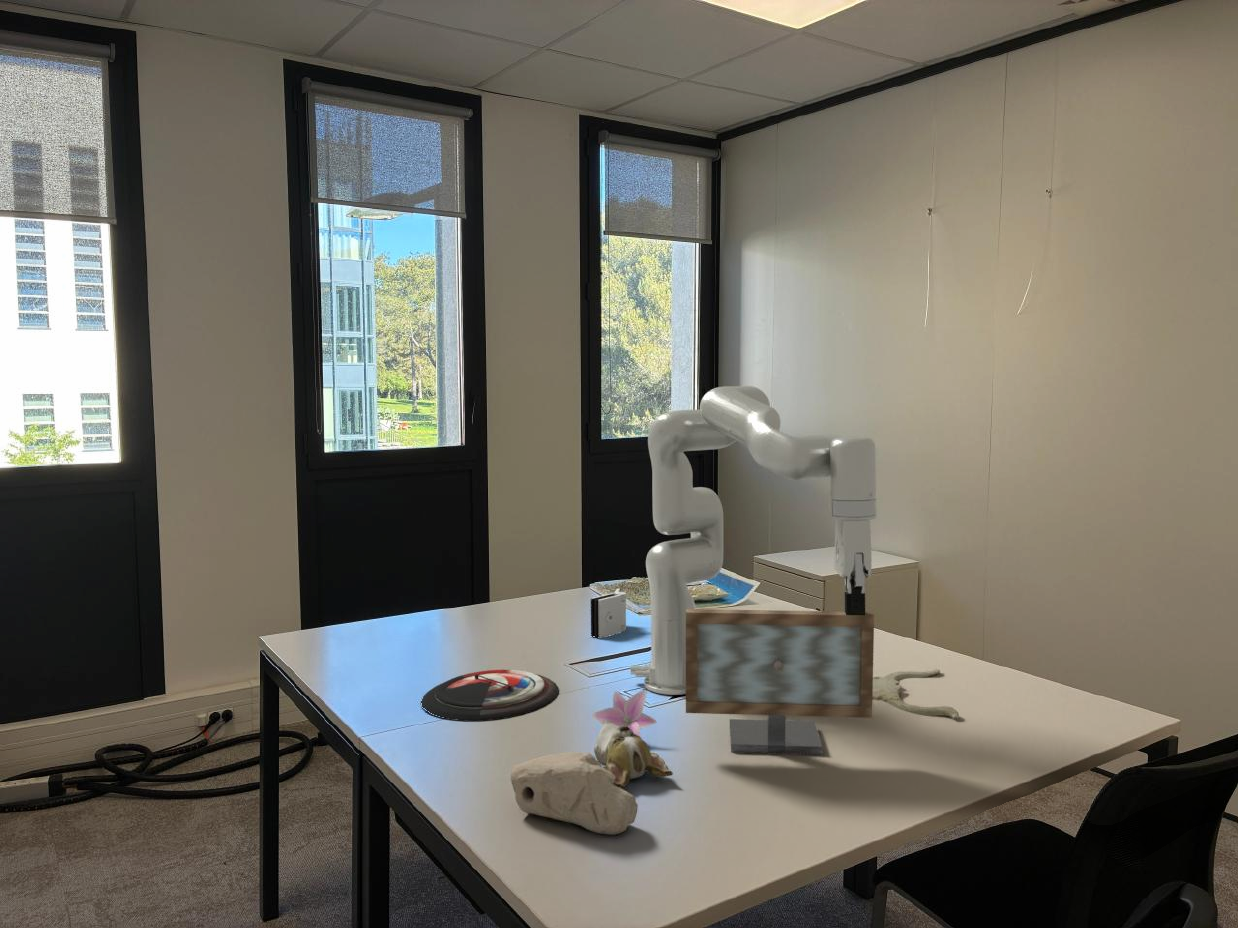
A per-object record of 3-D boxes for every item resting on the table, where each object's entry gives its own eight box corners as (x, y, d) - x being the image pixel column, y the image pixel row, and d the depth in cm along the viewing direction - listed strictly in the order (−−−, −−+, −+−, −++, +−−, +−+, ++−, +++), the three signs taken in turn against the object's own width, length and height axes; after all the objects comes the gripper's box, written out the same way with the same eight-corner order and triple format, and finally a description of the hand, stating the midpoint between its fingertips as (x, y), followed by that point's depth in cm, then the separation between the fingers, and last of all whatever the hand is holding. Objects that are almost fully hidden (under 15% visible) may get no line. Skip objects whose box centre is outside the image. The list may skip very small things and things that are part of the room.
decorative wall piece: (802, 716, 186) (960, 724, 180) (802, 701, 186) (961, 709, 180) (802, 668, 216) (939, 674, 210) (802, 655, 215) (939, 661, 210)
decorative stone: (503, 814, 144) (502, 752, 143) (531, 795, 151) (530, 735, 150) (619, 845, 135) (618, 779, 134) (642, 823, 141) (642, 759, 140)
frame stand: (731, 752, 167) (731, 648, 165) (729, 726, 179) (729, 629, 177) (822, 754, 165) (823, 649, 163) (814, 728, 177) (815, 630, 175)
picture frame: (685, 713, 164) (685, 613, 162) (686, 707, 166) (686, 608, 165) (872, 718, 161) (874, 616, 159) (869, 712, 163) (871, 611, 162)
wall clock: (504, 676, 217) (393, 702, 195) (505, 657, 217) (393, 680, 195) (586, 702, 199) (473, 734, 177) (586, 681, 199) (474, 710, 176)
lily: (587, 740, 175) (583, 709, 170) (627, 705, 181) (624, 674, 176) (629, 773, 169) (626, 741, 164) (669, 736, 175) (668, 704, 170)
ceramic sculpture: (633, 705, 166) (677, 739, 153) (632, 751, 167) (676, 789, 154) (578, 716, 161) (619, 753, 148) (578, 764, 162) (618, 804, 149)
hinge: (617, 624, 251) (617, 588, 250) (634, 627, 248) (634, 590, 247) (588, 637, 239) (588, 598, 238) (605, 640, 237) (605, 601, 236)
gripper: (825, 504, 167) (826, 606, 168) (837, 515, 152) (839, 626, 153) (867, 504, 166) (869, 605, 168) (884, 514, 152) (886, 625, 153)
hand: (855, 615), depth 160 cm, fingers closed
